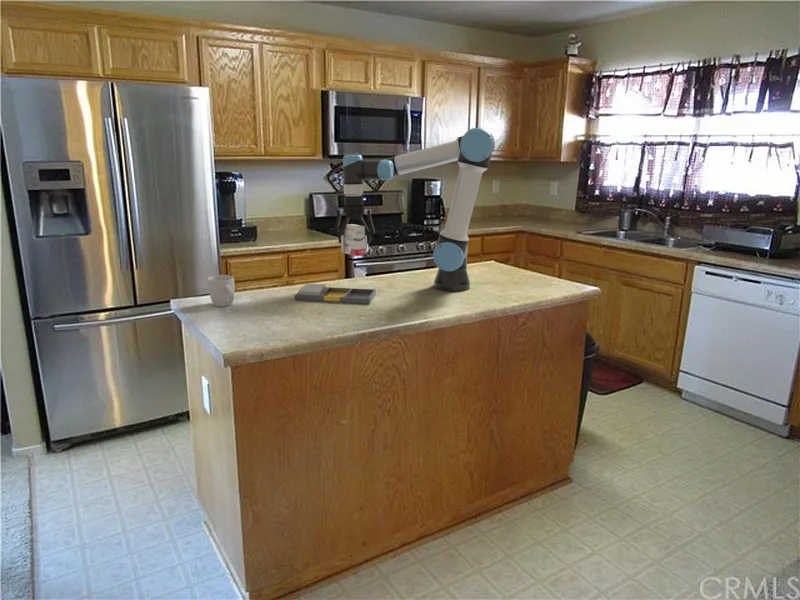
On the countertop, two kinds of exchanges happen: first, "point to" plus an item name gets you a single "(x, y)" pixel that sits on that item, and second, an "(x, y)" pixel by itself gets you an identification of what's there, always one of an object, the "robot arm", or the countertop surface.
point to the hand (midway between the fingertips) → (354, 251)
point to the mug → (221, 290)
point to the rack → (341, 296)
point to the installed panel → (312, 289)
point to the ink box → (354, 239)
